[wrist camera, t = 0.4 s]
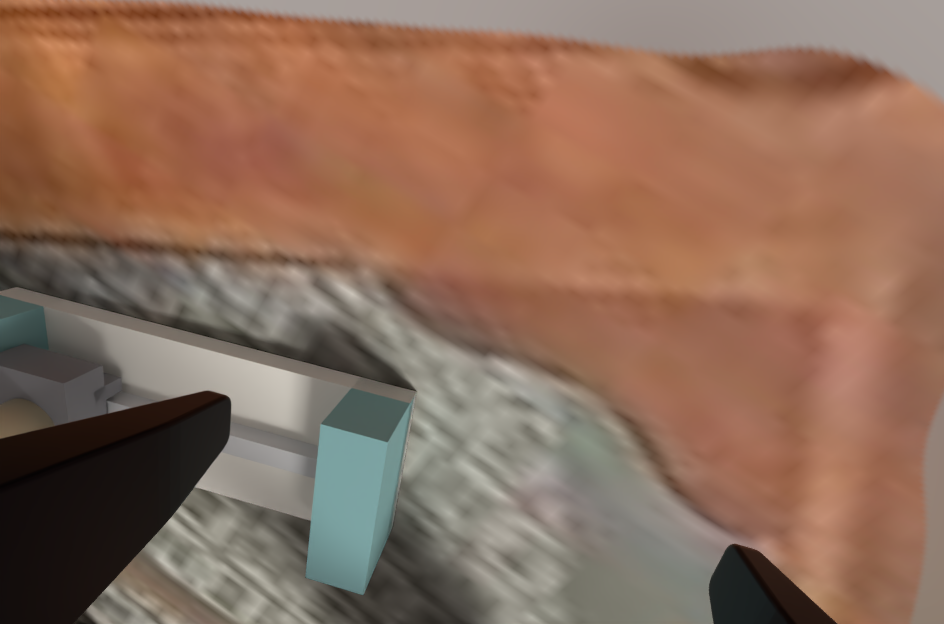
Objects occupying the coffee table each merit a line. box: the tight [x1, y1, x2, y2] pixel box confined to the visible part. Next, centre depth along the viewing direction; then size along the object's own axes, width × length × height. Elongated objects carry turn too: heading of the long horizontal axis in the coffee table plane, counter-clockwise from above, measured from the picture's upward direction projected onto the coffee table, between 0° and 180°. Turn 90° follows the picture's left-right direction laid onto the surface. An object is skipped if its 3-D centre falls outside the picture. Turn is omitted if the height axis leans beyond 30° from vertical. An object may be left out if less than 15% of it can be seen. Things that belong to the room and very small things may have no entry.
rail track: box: [0, 287, 417, 595], centre depth 25 cm, size 9×23×4 cm, turn 78°
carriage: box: [0, 344, 122, 438], centre depth 22 cm, size 6×4×8 cm
